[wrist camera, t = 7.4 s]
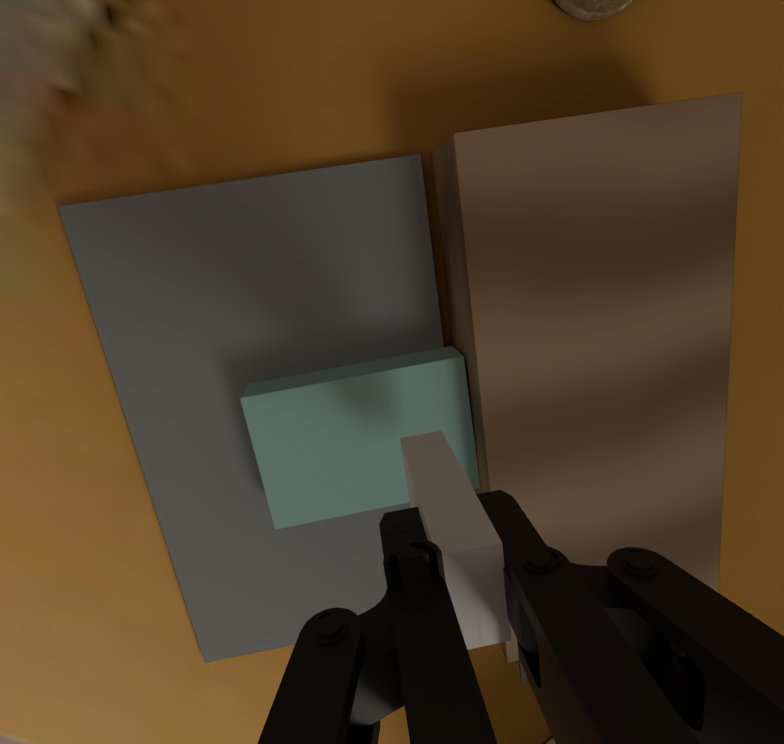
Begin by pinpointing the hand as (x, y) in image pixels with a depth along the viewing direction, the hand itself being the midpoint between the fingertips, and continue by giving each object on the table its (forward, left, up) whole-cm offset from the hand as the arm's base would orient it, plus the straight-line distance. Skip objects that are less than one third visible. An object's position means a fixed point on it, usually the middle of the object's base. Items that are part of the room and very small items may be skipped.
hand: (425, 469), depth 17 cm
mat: (0, +5, -6) cm, 7 cm away
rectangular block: (0, +2, -5) cm, 5 cm away
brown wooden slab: (0, -8, -6) cm, 9 cm away
